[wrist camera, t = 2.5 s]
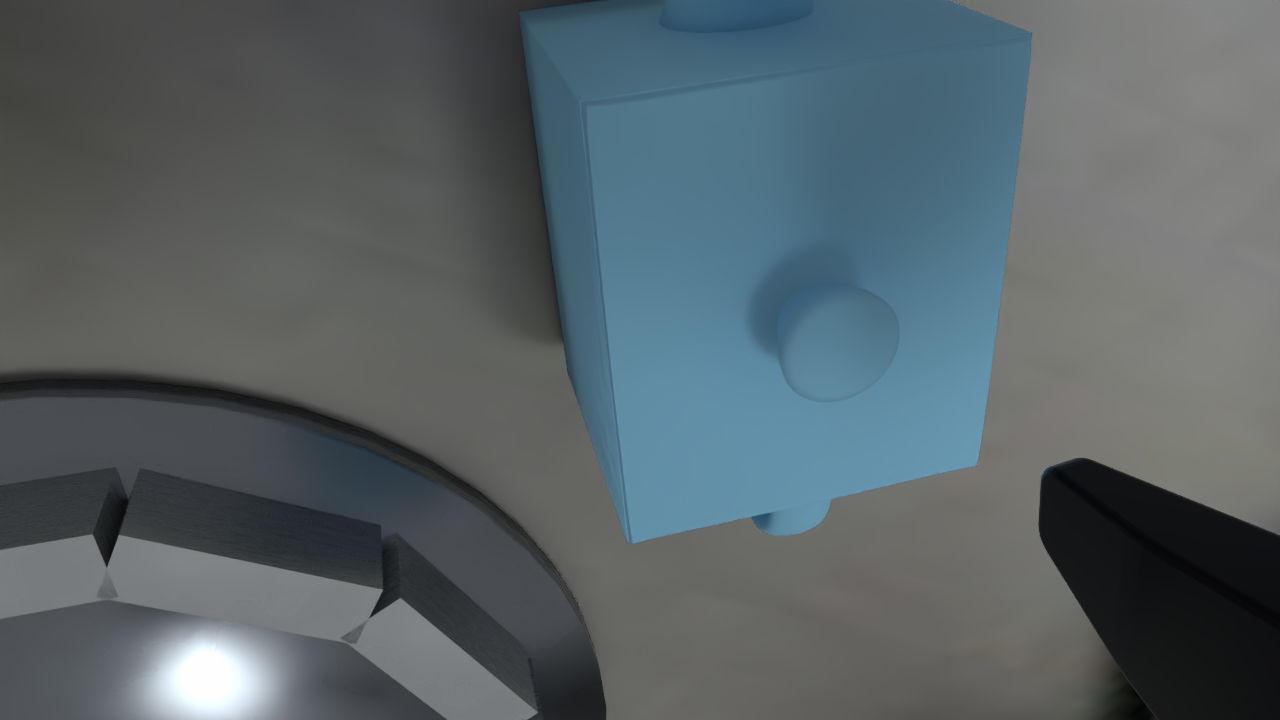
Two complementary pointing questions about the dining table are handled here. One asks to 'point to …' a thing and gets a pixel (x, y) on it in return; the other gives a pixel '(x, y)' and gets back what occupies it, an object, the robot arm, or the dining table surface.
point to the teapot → (775, 243)
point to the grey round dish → (262, 570)
